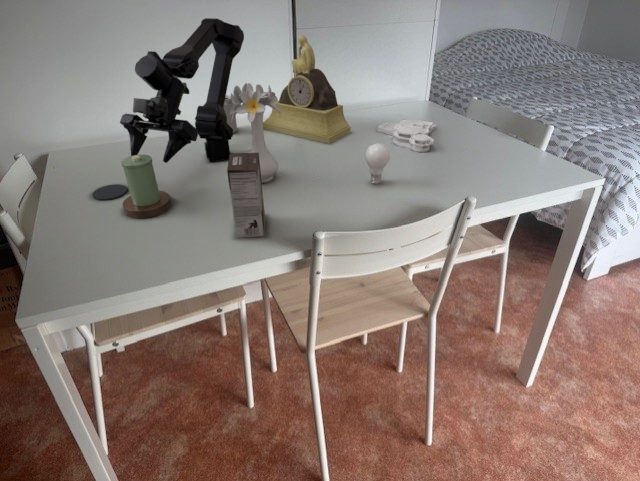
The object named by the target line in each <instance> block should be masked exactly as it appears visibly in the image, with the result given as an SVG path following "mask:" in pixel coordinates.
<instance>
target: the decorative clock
mask: <svg viewBox="0 0 640 481" xmlns="http://www.w3.org/2000/svg"><path fill="white" fill-rule="evenodd" d="M297 40H298V43H299V46H298V49H297V50H298V53H297V58H298V59H297V58H296V59H295V58H294V59H292V60H291V65H292V73H293V74H294V75H293V77H292V78H291V79H290V80H289V82H288V84H287V85H286V86H285V87H284V88H283V89H282V91H281V93H280V96H279V100H278V102H277V104H274V105H277V106H278V107H279V108H280V110H281V111H282V114H281V113H280V112H278V111H276V110H275V109H273V108H272V109H271V112H270V114H269V116H268V117H267V118H266V119H265V120H263V130H268V131H272V132H277V133H281V134H285V135H289V136H294V137H298V138H302V139H305V140H311V141H314V142H319V143H323V144H327V145H330V144H332V143H334V142H336V141H338V140H340V139H341V138H344V137H345V136H347V135H349V134H351V126H350V124H349V122H348V121H347V120H346V117H345V113H344V105H343V104H338V100H337V96H336V90H335V89H334V88H333V86H332V85H331V84H330V82H329V81H328V78H327V76H326V75H325V73H324V72H323V70H321V69H319V68H316V57H315V53H314V49H313V48H312V46H311V45H310V43H309V41H308V38H307V37H306V36H305V35H303V34H302V35H300V36H299V37H298V38H297Z"/></svg>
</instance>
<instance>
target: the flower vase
mask: <svg viewBox="0 0 640 481" xmlns="http://www.w3.org/2000/svg"><path fill="white" fill-rule="evenodd" d="M267 89H268V90H267V91H264V88H263V86H262V85H261V84H259V83H257V84H256V85H255V91H254V87H253V85H252V84H251V83H249V82H248V83H247V82H245V83H244V84H243V86H242V88H240V86H239V85H235V86H234V88H233V93H232V92H231V93H230V96H231V99H229V100H228V101H227V104H234V105H233V106H232V107H231V109H230V115H231V114H233V115H232V120H231V122H232V121H233V119H234V117H235V115H236V116H237V115H244V114H247V115H246V116H247V121H248V123H250V127H251V139H252V140H251V142H252V148H251V150H250V151H251V152H250V153H258V152H259V161H260V171H261V181H262V184H264V183H268V182H271V181H272V180H273V179H274V176H275V175H276V173H277V172H278V170H279V164H278V161H277V159H275V157H274V156H272V155H271V154H270V152H269V150H268V148H267V146H266V140H265V134H264V129H263V122H264V114H265V111H266V110H267V109H266V106H268V107H269V108H273V109H275V110H276V111H278V112H280V113H281V114H282V111H281V110H280V108H279V107H278V106H277V105H274V104H277V102H278V101H279V100H278V96H277V95H276V93H275V91H272V88H271V86H270V84H268V88H267Z"/></svg>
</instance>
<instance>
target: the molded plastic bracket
mask: <svg viewBox="0 0 640 481" xmlns="http://www.w3.org/2000/svg"><path fill="white" fill-rule="evenodd" d="M436 129H437V124H435V122H431V121H426V120H420V119H418V120H409V119H402V120H398V121H396V122H395V123H391V122H385V121H384V122H383V123H381V124H379V125H378V126H377V127H376V130H375V131H376V132H379V133H382V134H386V135H389V136H392V143H393V144H395V145H396V146H399V147H402V148H406V149H409V150H412V151H414V152H418V153H424V152H425V153H426V152H428V151H430V147H431V145H433V144H434V143H435V139H434V138H433V137H431V136H430V135H429V134H430V133H432V132H433V131H434V130H436Z"/></svg>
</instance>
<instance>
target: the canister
mask: <svg viewBox="0 0 640 481" xmlns="http://www.w3.org/2000/svg"><path fill="white" fill-rule="evenodd" d="M120 165H121V166H122V168H123V172H124V176H125V180H126V183H127V188H128V190H129V194H130V196H131V198H132V202H133V204H134V205H136V206H149V205H152V204H155V203H157V202H158V201H159V200H160V194H159V185H158V182H157V177H156V174H155V170H154V164H153V158H152V156H151V155H149V154H138V155H133V156H131V155H130V156H127V157H125V158H123V159H122V160H121V161H120Z"/></svg>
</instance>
